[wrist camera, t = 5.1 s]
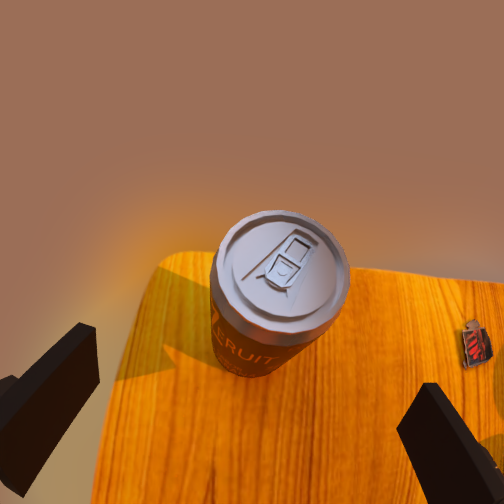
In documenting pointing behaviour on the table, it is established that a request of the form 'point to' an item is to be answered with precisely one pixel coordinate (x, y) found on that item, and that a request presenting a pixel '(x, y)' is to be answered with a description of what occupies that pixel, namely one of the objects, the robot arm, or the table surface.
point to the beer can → (274, 290)
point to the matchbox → (476, 344)
